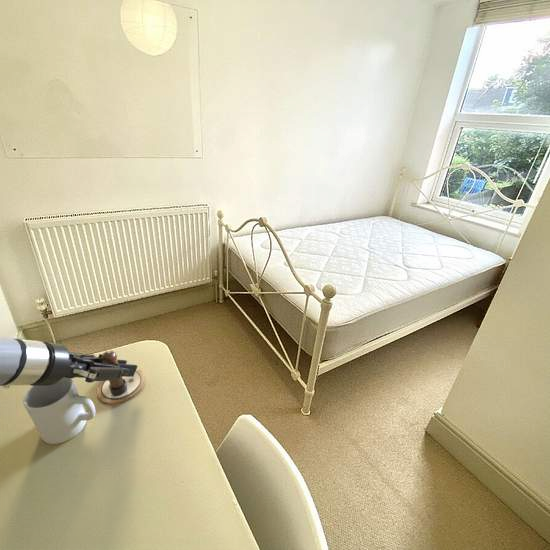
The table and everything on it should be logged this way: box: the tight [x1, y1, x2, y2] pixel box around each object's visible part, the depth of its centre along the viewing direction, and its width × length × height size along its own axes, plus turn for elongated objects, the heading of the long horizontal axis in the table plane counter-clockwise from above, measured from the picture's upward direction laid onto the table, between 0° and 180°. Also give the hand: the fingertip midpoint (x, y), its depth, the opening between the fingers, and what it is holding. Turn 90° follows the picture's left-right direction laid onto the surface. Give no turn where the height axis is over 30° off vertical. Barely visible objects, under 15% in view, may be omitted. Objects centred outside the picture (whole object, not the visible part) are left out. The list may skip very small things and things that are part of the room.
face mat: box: [96, 368, 147, 405], centre depth 77 cm, size 11×11×1 cm
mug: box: [22, 377, 97, 445], centre depth 64 cm, size 12×8×11 cm
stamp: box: [101, 350, 127, 396], centre depth 71 cm, size 4×4×12 cm
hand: (128, 368), depth 76 cm, fingers closed on stamp, 3 cm apart
